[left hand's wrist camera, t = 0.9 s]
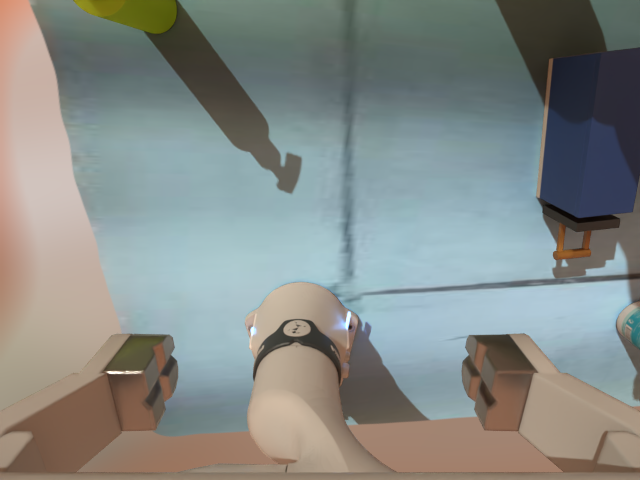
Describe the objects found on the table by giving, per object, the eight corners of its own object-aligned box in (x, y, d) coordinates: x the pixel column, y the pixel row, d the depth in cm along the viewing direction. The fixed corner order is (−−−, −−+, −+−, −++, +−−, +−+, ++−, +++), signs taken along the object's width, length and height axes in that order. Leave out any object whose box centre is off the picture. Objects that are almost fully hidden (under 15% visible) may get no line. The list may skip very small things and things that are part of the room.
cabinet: (581, 191, 56) (632, 212, 47) (536, 196, 56) (578, 218, 47) (601, 52, 49) (665, 44, 40) (549, 58, 50) (601, 52, 40)
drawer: (574, 245, 58) (611, 269, 51) (538, 249, 59) (570, 273, 51) (596, 81, 50) (646, 80, 42) (555, 86, 50) (596, 86, 42)
